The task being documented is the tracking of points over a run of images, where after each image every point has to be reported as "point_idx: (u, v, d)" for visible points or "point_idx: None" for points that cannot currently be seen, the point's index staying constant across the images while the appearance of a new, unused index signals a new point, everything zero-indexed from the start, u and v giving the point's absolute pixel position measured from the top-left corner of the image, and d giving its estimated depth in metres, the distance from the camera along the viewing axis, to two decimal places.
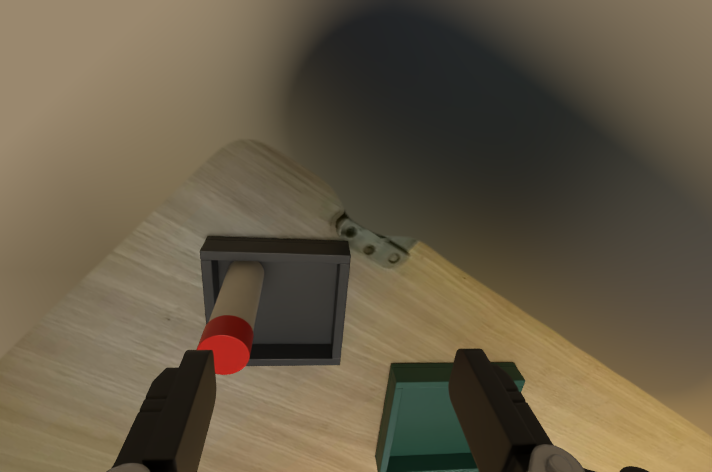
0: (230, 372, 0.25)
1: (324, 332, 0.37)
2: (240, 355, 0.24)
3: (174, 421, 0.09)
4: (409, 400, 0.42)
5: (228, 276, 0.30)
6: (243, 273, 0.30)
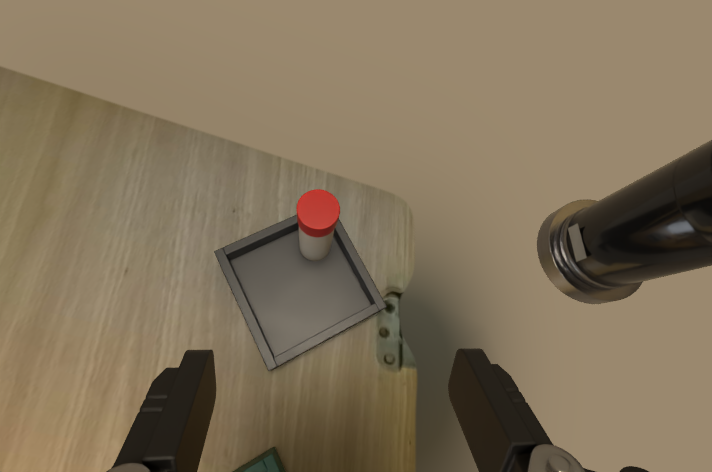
0: (303, 221, 0.28)
1: (286, 343, 0.35)
2: (324, 220, 0.28)
3: (174, 421, 0.09)
4: None
5: None
6: None
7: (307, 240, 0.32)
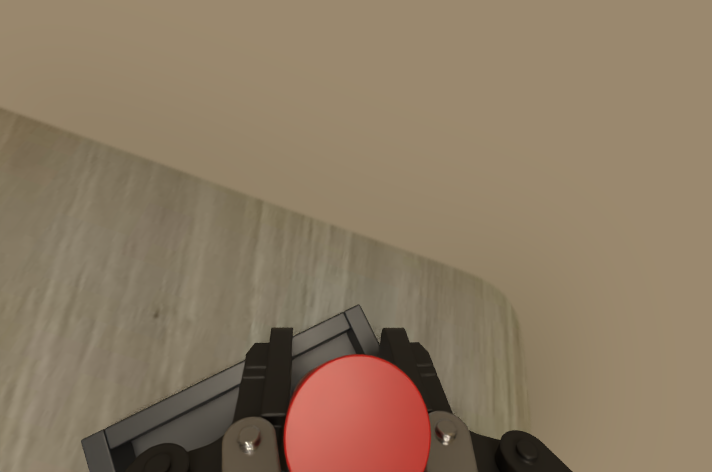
0: None
1: None
2: None
3: (278, 385, 0.10)
4: None
5: None
6: None
7: None
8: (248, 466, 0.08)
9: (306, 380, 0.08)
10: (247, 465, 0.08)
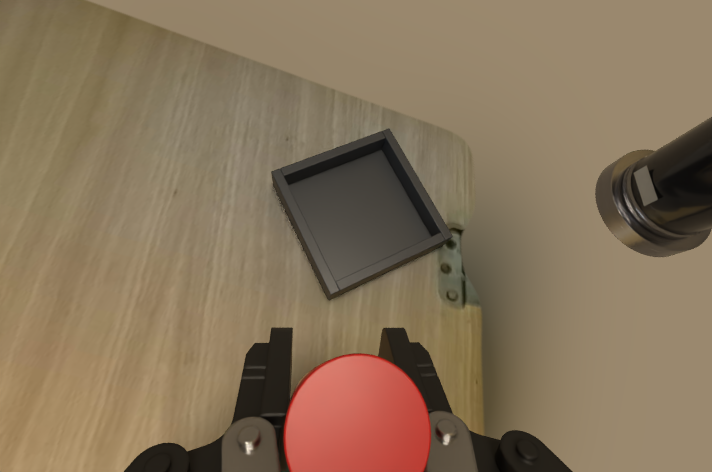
0: None
1: (344, 272, 0.33)
2: None
3: (278, 385, 0.10)
4: None
5: None
6: None
7: None
8: (248, 466, 0.08)
9: (306, 379, 0.08)
10: (247, 465, 0.08)
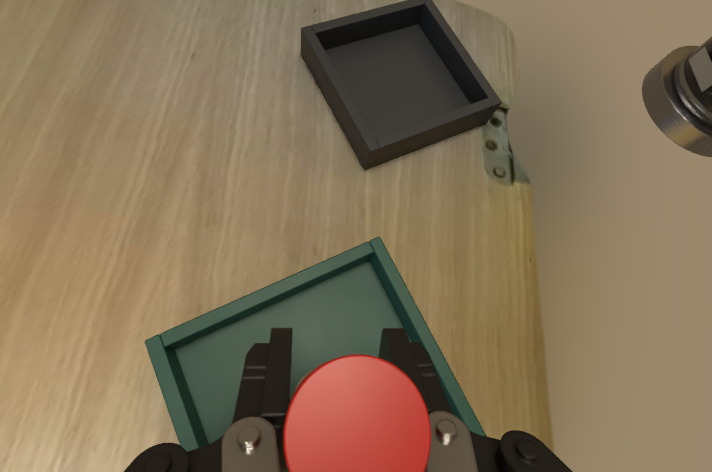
0: None
1: None
2: None
3: (278, 385, 0.10)
4: (327, 309, 0.25)
5: None
6: None
7: None
8: (248, 466, 0.08)
9: (306, 380, 0.08)
10: (247, 465, 0.08)
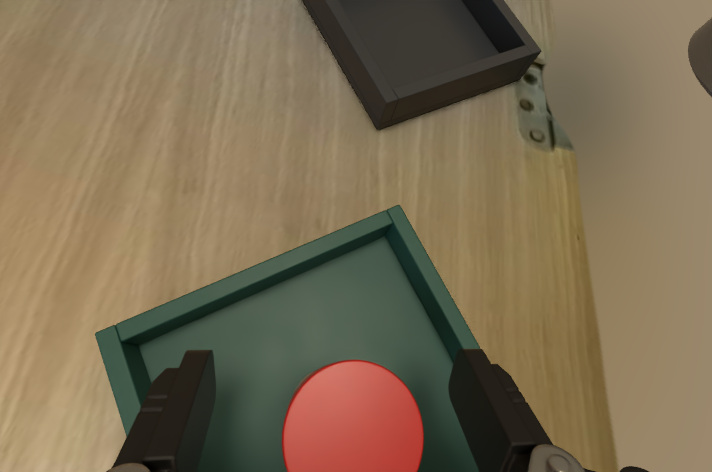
0: None
1: None
2: None
3: (174, 421, 0.09)
4: (334, 295, 0.20)
5: None
6: None
7: None
8: None
9: (303, 385, 0.09)
10: None
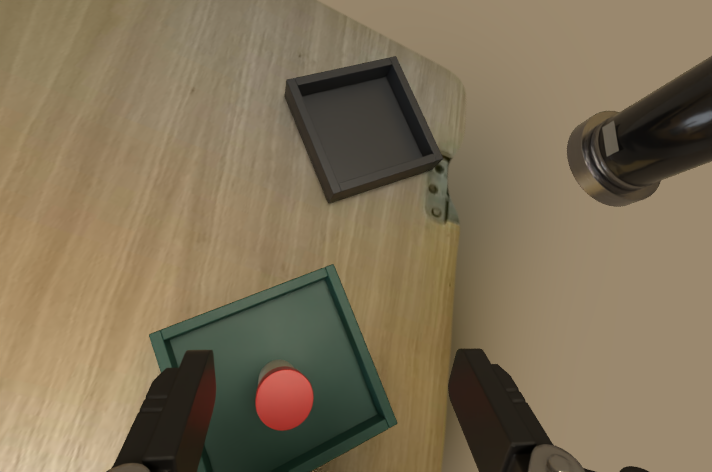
0: (263, 417, 0.21)
1: (345, 180, 0.36)
2: (291, 417, 0.21)
3: (174, 421, 0.09)
4: (289, 315, 0.32)
5: (289, 364, 0.29)
6: None
7: None
8: None
9: (265, 378, 0.21)
10: None
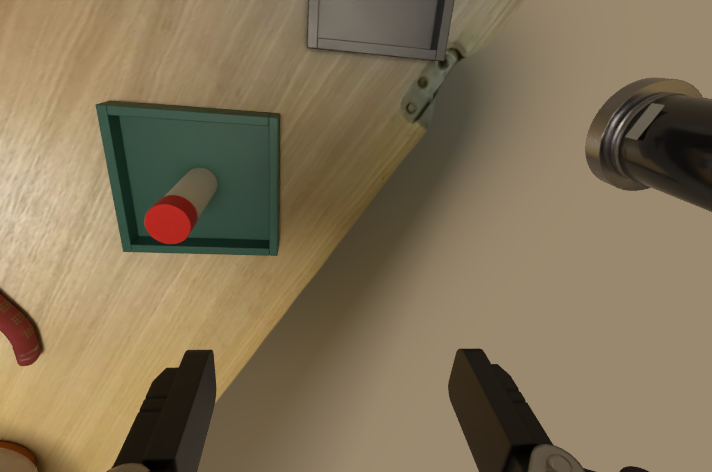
0: (148, 229, 0.28)
1: (333, 30, 0.33)
2: (169, 237, 0.29)
3: (174, 421, 0.09)
4: (227, 139, 0.36)
5: (206, 181, 0.35)
6: (211, 194, 0.35)
7: None
8: None
9: (156, 205, 0.27)
10: None
